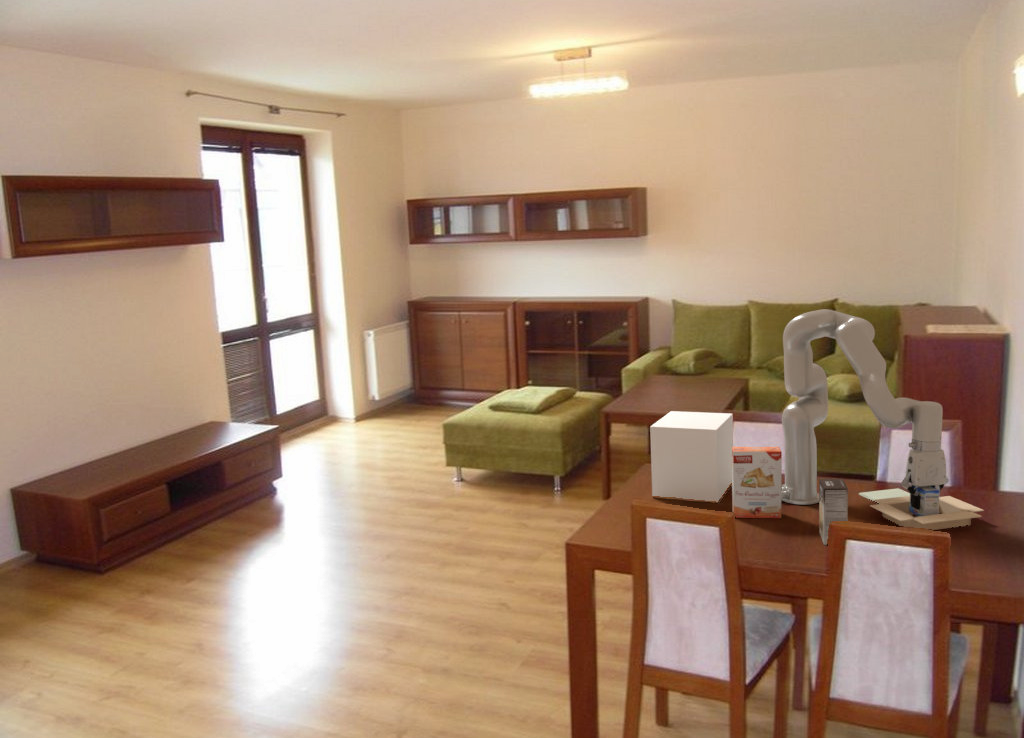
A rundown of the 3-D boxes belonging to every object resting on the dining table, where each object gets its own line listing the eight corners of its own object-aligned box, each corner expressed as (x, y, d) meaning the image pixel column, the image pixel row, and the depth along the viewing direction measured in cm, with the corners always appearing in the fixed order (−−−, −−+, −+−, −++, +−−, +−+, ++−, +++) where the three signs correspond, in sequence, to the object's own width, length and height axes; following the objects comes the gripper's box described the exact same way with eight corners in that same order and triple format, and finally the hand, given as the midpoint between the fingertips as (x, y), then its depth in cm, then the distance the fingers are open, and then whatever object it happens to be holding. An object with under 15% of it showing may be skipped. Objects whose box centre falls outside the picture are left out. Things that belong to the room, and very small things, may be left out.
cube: (672, 478, 298) (671, 411, 294) (733, 483, 288) (732, 413, 285) (652, 499, 276) (650, 426, 272) (717, 505, 266) (716, 429, 263)
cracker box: (733, 518, 251) (732, 450, 248) (732, 512, 257) (731, 446, 254) (782, 519, 249) (781, 450, 246) (779, 512, 255) (779, 445, 251)
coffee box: (818, 533, 235) (818, 478, 233) (842, 534, 234) (842, 478, 232) (823, 545, 227) (823, 487, 224) (848, 545, 225) (849, 488, 223)
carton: (909, 538, 228) (909, 524, 227) (861, 514, 249) (861, 501, 249) (993, 528, 232) (994, 514, 232) (939, 504, 254) (940, 492, 253)
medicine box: (908, 511, 245) (909, 482, 243) (923, 510, 245) (924, 481, 244) (923, 520, 237) (925, 490, 235) (939, 519, 237) (940, 489, 236)
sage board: (885, 507, 254) (886, 505, 254) (858, 494, 267) (858, 492, 267) (927, 502, 256) (927, 500, 256) (898, 490, 270) (898, 488, 270)
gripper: (907, 451, 232) (905, 514, 235) (962, 445, 235) (959, 508, 238) (891, 444, 240) (889, 505, 243) (944, 439, 243) (941, 500, 246)
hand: (923, 506), depth 240 cm, fingers closed on medicine box, 4 cm apart
